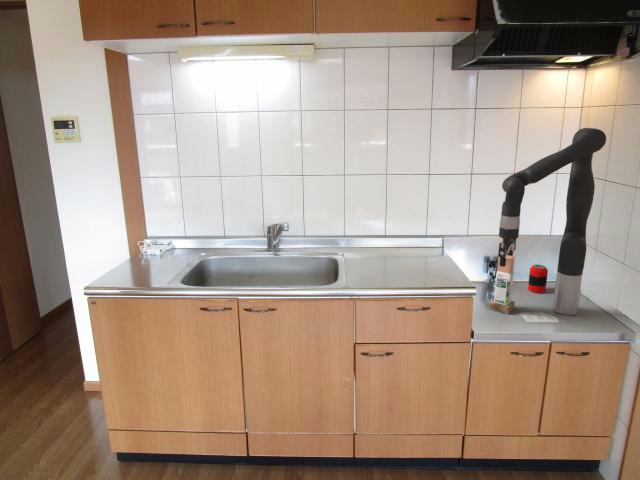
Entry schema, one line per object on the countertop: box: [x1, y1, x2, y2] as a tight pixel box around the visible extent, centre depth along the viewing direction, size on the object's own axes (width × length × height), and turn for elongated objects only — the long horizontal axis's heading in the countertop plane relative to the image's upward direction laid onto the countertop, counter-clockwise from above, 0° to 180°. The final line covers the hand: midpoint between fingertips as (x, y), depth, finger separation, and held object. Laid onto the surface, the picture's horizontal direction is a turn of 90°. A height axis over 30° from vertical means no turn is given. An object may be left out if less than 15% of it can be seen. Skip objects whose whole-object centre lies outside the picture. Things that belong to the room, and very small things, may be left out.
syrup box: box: [493, 269, 515, 306], centre depth 190 cm, size 6×6×14 cm
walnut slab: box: [488, 299, 516, 315], centre depth 193 cm, size 8×8×3 cm
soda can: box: [527, 264, 549, 294], centre depth 210 cm, size 8×8×12 cm
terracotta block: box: [496, 253, 516, 273], centre depth 188 cm, size 5×5×6 cm
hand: (505, 263), depth 188 cm, fingers open, 8 cm apart
